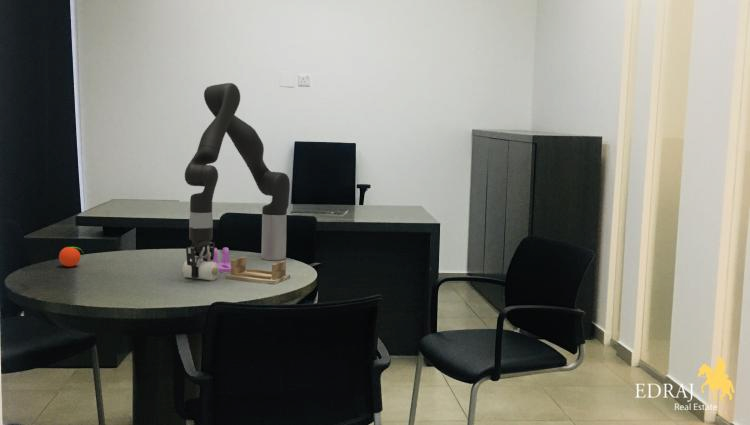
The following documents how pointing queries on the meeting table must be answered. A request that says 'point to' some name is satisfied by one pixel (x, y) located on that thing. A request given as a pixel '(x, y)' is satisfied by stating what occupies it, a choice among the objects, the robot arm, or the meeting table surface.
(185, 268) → the roll
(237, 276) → the cradle
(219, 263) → the bracket
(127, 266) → the meeting table surface
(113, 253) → the meeting table surface
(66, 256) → the clementine
